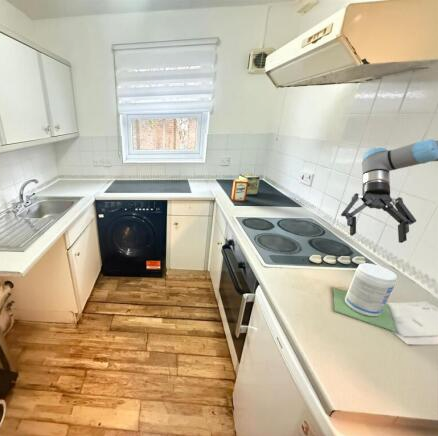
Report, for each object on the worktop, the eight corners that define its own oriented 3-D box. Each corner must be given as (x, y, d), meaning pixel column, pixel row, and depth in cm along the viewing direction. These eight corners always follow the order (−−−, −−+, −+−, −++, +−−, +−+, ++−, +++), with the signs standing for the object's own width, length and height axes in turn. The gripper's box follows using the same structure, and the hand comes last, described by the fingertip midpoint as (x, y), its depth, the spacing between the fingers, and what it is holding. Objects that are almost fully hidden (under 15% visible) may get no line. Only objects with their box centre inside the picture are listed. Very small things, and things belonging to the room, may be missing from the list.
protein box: (245, 196, 197) (248, 177, 191) (236, 190, 212) (239, 173, 205) (257, 195, 198) (260, 177, 192) (248, 190, 212) (250, 173, 206)
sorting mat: (386, 304, 82) (387, 303, 82) (395, 332, 72) (396, 331, 72) (333, 288, 90) (333, 287, 90) (334, 311, 80) (335, 310, 79)
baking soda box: (243, 198, 190) (246, 179, 184) (245, 201, 184) (248, 181, 178) (231, 198, 192) (233, 178, 185) (232, 200, 186) (235, 180, 179)
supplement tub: (384, 322, 75) (403, 284, 69) (346, 311, 79) (362, 274, 73) (375, 302, 83) (392, 267, 77) (341, 293, 87) (355, 259, 81)
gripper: (413, 194, 88) (417, 248, 81) (332, 187, 98) (330, 234, 91) (427, 183, 82) (433, 241, 75) (339, 177, 91) (338, 227, 84)
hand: (377, 237), depth 83 cm, fingers open, 13 cm apart
